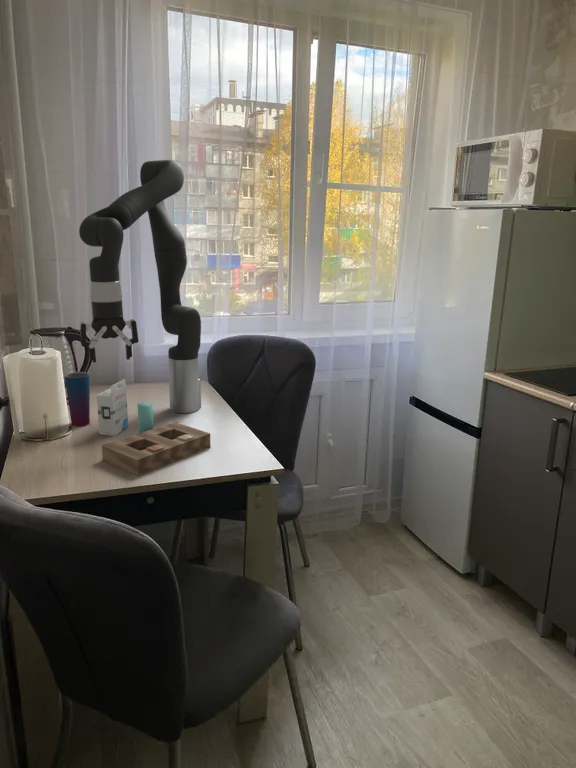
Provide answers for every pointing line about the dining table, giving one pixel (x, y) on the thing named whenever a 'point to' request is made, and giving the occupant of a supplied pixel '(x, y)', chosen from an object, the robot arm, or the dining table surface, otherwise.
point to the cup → (78, 397)
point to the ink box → (113, 409)
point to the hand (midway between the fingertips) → (111, 360)
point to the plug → (145, 416)
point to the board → (155, 447)
